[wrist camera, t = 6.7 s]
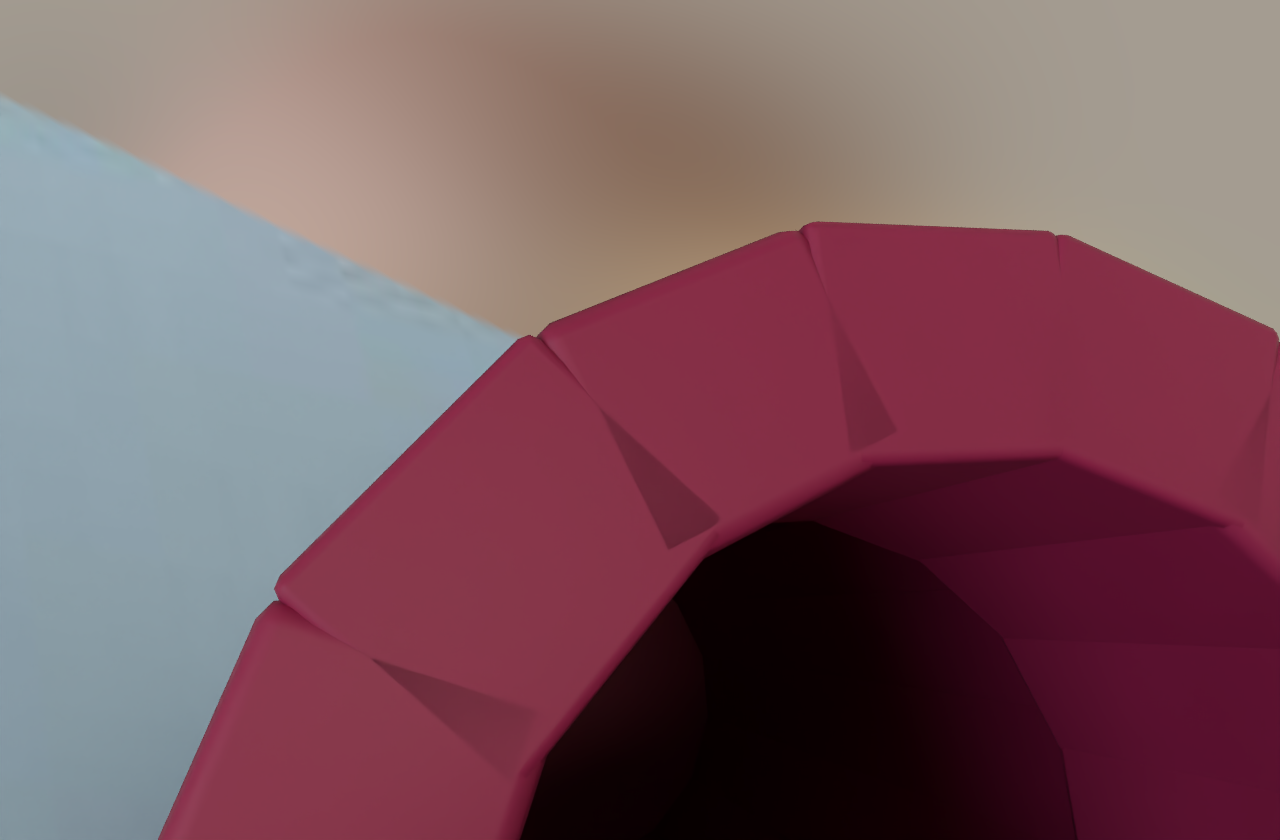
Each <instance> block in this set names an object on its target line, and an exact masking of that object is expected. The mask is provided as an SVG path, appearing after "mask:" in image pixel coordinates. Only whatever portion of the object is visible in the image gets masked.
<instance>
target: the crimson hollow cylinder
mask: <svg viewBox="0 0 1280 840" xmlns="http://www.w3.org/2000/svg"><path fill="white" fill-rule="evenodd" d="M274 590H275V592H276V594H277V597H278V599H279V601H273V602H272V603H271V604H270V605H269V606H268V607H267V608H266V609H265V610H264V611H263V612H262V613H261V614H260V615H259V616H258V617H257V618H256V619H255V622H254V624H253V626H252V628H251V631H250V633H249V635H248V637H247V640H246V642H245V644H244V646H243V649H242V651H241V653H240V655H239V658H238V660H237V662H236V664H235V667H234V669H233V671H232V674H231V676H230V678H229V680H228V683H227V685H226V687H225V689H224V692H223V694H222V696H221V698H220V701H219V703H218V705H217V707H216V710H215V712H214V714H213V716H212V719H211V721H210V723H209V725H208V728H207V730H206V732H205V734H204V737H203V739H202V741H201V743H200V746H199V748H198V750H197V752H196V755H195V757H194V759H193V761H192V764H191V766H190V768H189V771H188V773H187V775H186V777H185V780H184V782H183V784H182V786H181V789H180V791H179V793H178V795H177V798H176V800H175V802H174V804H173V807H172V809H171V811H170V813H169V816H168V818H167V820H166V822H165V825H164V827H163V829H162V831H161V834H160V836H159V838H158V840H1280V342H1279V338H1278V335H1277V333H1276V332H1275V331H1274V329H1273V328H1270V327H1268V326H1266V325H1264V324H1262V323H1259V322H1257V321H1255V320H1253V319H1251V318H1248V317H1246V316H1244V315H1242V314H1240V313H1237V312H1235V311H1233V310H1231V309H1229V308H1226V307H1224V306H1222V305H1219V304H1218V303H1215V302H1213V301H1211V300H1209V299H1207V298H1204V297H1202V296H1200V295H1198V294H1195V293H1193V292H1191V291H1189V290H1187V289H1185V288H1183V287H1180V286H1178V285H1176V284H1174V283H1171V282H1169V281H1167V280H1165V279H1163V278H1160V277H1158V276H1156V275H1154V274H1152V273H1150V272H1147V271H1145V270H1143V269H1141V268H1139V267H1136V266H1134V265H1132V264H1130V263H1127V262H1125V261H1123V260H1121V259H1119V258H1116V257H1114V256H1112V255H1110V254H1108V253H1106V252H1103V251H1101V250H1099V249H1097V248H1095V247H1092V246H1090V245H1088V244H1086V243H1084V242H1082V241H1079V240H1077V239H1075V238H1073V237H1071V236H1068V235H1058V236H1055V235H1054V234H1053V233H1051V232H1049V231H1036V230H1035V231H1034V230H1011V229H1010V230H1009V229H987V228H962V227H960V228H959V227H938V226H912V225H888V224H862V223H839V222H812V223H809V224H807V225H805V226H803V227H802V228H801V229H800V230H799V231H786V232H779V233H776V234H773V235H771V236H768V237H766V238H763V239H760V240H758V241H755V242H753V243H750V244H748V245H745V246H743V247H740V248H738V249H735V250H733V251H730V252H728V253H725V254H723V255H721V256H718V257H715V258H713V259H710V260H708V261H705V262H703V263H700V264H698V265H695V266H693V267H690V268H688V269H685V270H683V271H680V272H678V273H675V274H672V275H670V276H667V277H665V278H662V279H660V280H658V281H655V282H653V283H650V284H648V285H645V286H642V287H640V288H637V289H635V290H633V291H630V292H627V293H625V294H622V295H620V296H617V297H615V298H612V299H610V300H607V301H605V302H602V303H600V304H597V305H595V306H592V307H590V308H587V309H585V310H582V311H579V312H577V313H574V314H572V315H569V316H567V317H564V318H562V319H559V320H557V321H555V322H552V323H550V324H549V325H548V326H547V327H546V328H545V329H544V330H543V331H542V332H541V333H540V334H539V335H538V336H537V337H533V336H531V335H528V336H525V337H522V338H520V339H518V340H517V341H516V342H515V343H514V344H513V345H512V346H511V347H510V348H509V349H508V350H507V351H506V352H505V353H504V354H503V355H502V356H501V357H500V358H499V359H498V360H497V361H496V362H495V363H494V364H493V365H492V366H491V367H490V368H489V369H488V370H487V371H486V372H485V373H484V374H483V375H482V376H481V377H479V378H478V379H477V380H476V381H475V382H474V383H473V384H472V385H471V386H470V387H469V388H468V389H467V390H466V391H465V392H464V393H463V394H462V395H461V396H460V397H459V398H458V399H457V400H456V401H455V402H454V403H453V404H452V405H451V406H450V407H449V408H448V409H447V410H446V411H445V412H444V413H443V414H442V415H441V416H440V417H439V418H438V419H437V420H436V421H435V422H434V423H433V424H432V425H431V426H430V427H429V428H428V429H427V430H426V431H425V432H424V433H423V434H422V435H421V436H420V437H419V438H418V439H417V440H416V441H415V442H414V443H413V444H412V445H411V446H410V447H409V448H408V449H407V450H406V451H405V452H404V453H403V454H402V455H401V456H400V457H399V458H398V459H397V460H396V461H395V462H394V463H393V464H392V465H391V466H390V467H389V468H388V469H387V470H386V471H385V472H384V473H383V474H382V475H381V476H380V477H379V478H378V479H377V480H376V481H375V482H374V483H373V484H372V485H371V486H370V487H369V488H368V489H367V490H366V491H365V492H364V493H363V494H362V495H361V496H360V497H359V498H358V499H357V500H356V501H355V502H354V503H353V504H352V505H351V506H350V507H349V508H348V509H347V510H346V511H345V512H344V513H343V514H342V515H341V516H340V517H339V518H338V519H337V520H336V521H335V522H334V523H332V524H331V525H330V526H329V527H328V528H327V529H326V530H325V531H324V532H323V533H322V534H321V535H320V536H319V537H318V538H317V539H316V540H315V541H314V542H313V543H312V544H311V545H310V546H309V547H308V548H307V549H306V550H305V551H304V552H303V553H302V554H301V555H300V556H299V557H298V558H297V559H296V560H295V561H294V562H293V563H292V564H291V565H290V566H289V567H288V568H287V569H286V570H285V571H284V572H283V573H282V574H281V575H280V577H279V579H278V581H277V583H276V586H275V588H274Z"/></svg>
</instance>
